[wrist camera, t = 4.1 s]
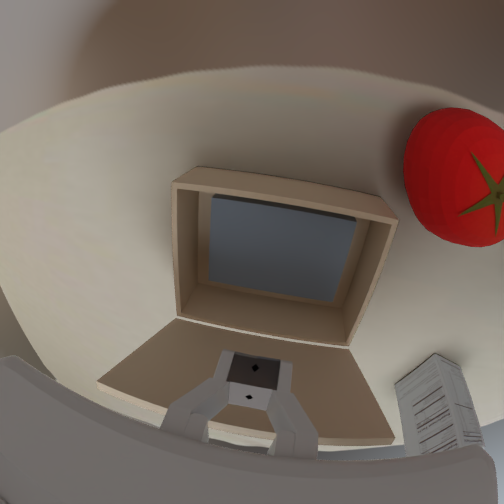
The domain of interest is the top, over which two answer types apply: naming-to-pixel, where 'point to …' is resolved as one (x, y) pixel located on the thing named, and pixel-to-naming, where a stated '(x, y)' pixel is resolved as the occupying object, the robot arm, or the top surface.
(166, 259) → the top surface
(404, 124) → the top surface
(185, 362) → the lid
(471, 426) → the supplement box
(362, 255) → the box
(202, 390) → the robot arm
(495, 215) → the tomato
